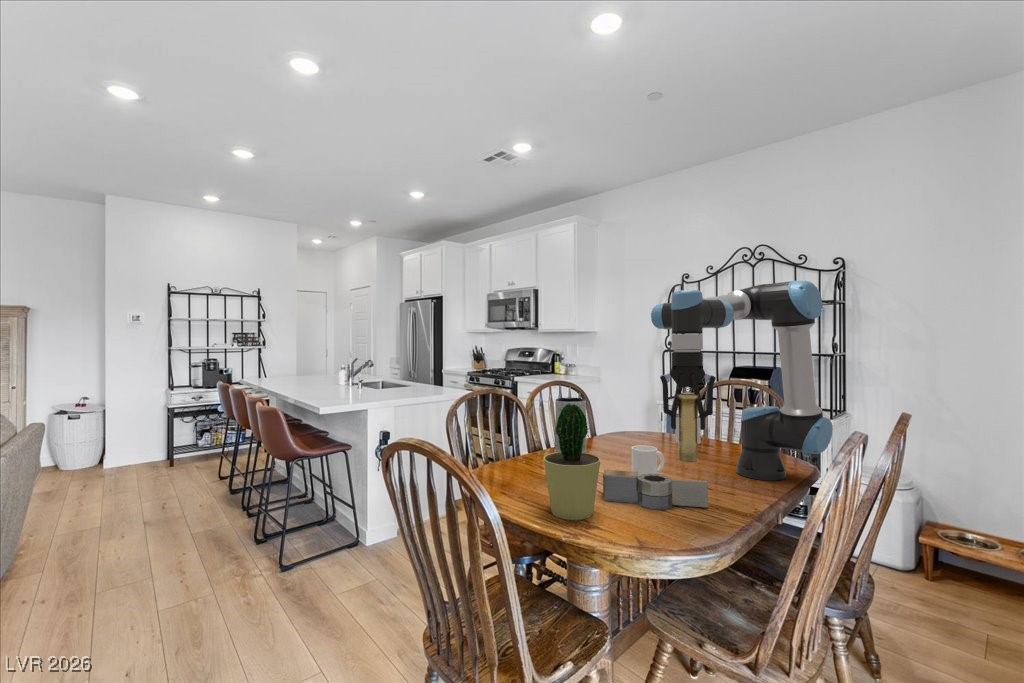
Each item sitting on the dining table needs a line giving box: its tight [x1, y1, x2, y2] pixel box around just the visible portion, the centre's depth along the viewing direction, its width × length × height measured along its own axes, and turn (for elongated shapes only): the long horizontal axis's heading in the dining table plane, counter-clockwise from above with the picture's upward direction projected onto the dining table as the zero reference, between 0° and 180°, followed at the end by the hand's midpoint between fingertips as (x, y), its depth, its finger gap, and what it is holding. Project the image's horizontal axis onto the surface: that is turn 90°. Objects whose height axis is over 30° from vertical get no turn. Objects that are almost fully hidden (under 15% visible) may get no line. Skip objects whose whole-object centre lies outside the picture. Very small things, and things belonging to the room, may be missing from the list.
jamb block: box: [602, 469, 638, 500], centre depth 141 cm, size 10×5×7 cm, turn 75°
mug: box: [631, 444, 665, 476], centre depth 160 cm, size 12×8×10 cm
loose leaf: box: [638, 473, 709, 509], centre depth 135 cm, size 19×9×7 cm, turn 75°
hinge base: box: [604, 475, 673, 511], centre depth 137 cm, size 19×9×7 cm, turn 75°
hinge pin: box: [676, 392, 701, 463], centre depth 122 cm, size 6×6×17 cm
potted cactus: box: [543, 403, 601, 521], centre depth 130 cm, size 15×15×30 cm
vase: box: [554, 397, 587, 453], centre depth 158 cm, size 10×10×27 cm
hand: (687, 441), depth 122 cm, fingers closed on hinge pin, 4 cm apart
